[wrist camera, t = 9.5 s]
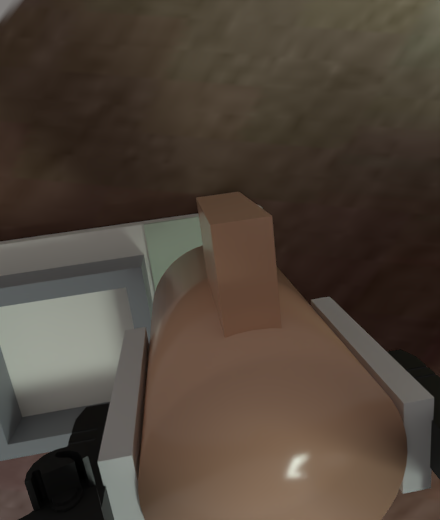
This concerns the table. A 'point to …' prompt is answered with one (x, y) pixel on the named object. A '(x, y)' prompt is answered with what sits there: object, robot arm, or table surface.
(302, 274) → the table surface
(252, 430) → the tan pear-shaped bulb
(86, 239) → the board
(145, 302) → the cradle
